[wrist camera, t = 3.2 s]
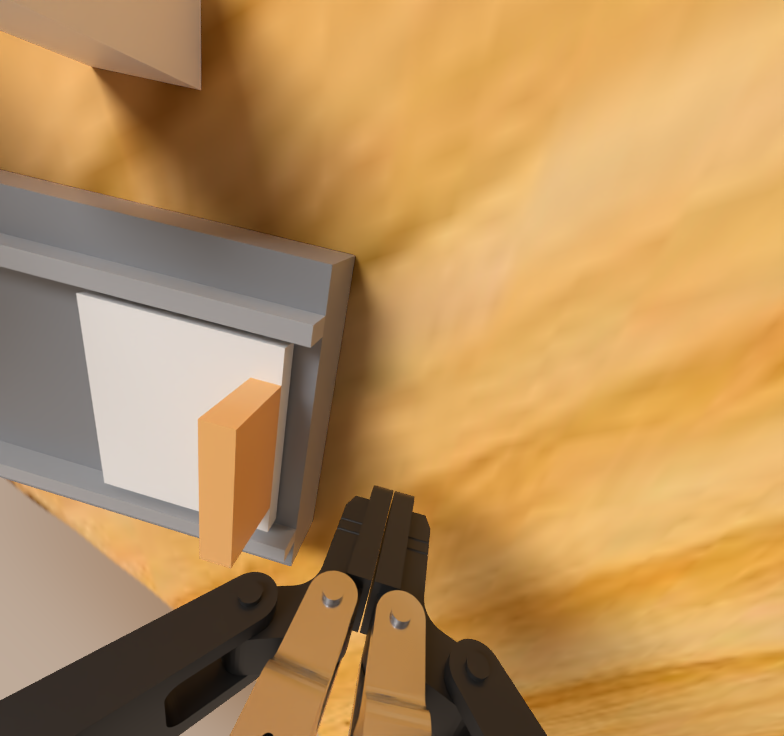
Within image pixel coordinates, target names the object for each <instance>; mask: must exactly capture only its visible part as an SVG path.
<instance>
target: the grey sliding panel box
mask: <svg viewBox="0 0 784 736" xmlns="http://www.w3.org/2000/svg"><path fill="white" fill-rule="evenodd" d="M354 262H355V255H352V254H348V253H343V252H339V251H335V250H331V249H327V248H323V247H319V246H314V245H310V244H306V243H302V242H298V241H294V240H290V239H285V238H281V237H277V236H273V235H269V234H265V233H261V232H257V231H252V230H248V229H244V228H240V227H236V226H232V225H228V224H223V223H219V222H215V221H211V220H207V219H203V218H199V217H194V216H190V215H186V214H182V213H178V212H174V211H170V210H166V209H161V208H157V207H153V206H149V205H145V204H141V203H137V202H132V201H128V200H124V199H120V198H116V197H112V196H108V195H103V194H99V193H95V192H91V191H87V190H83V189H79V188H75V187H70V186H66V185H62V184H58V183H54V182H50V181H46V180H41V179H37V178H33V177H29V176H25V175H21V174H17V173H13V172H8V171H4V170H0V477H2V478H5V479H8V480H12V481H15V482H18V483H21V484H25V485H28V486H31V487H34V488H38V489H41V490H44V491H47V492H51V493H54V494H57V495H60V496H64V497H67V498H70V499H73V500H77V501H80V502H83V503H86V504H90V505H93V506H96V507H100V508H103V509H106V510H109V511H113V512H116V513H119V514H122V515H126V516H129V517H132V518H135V519H139V520H142V521H145V522H148V523H152V524H155V525H158V526H161V527H165V528H168V529H171V530H174V531H178V532H181V533H184V534H187V535H191V536H194V537H197V538H199V511H196V510H192V509H189V508H186V507H183V506H179V505H176V504H173V503H169V502H166V501H163V500H159V499H156V498H153V497H149V496H146V495H143V494H139V493H136V492H133V491H130V490H126V489H123V488H120V487H116V486H113V485H110V484H106V483H104V477H103V470H102V464H101V457H100V450H99V443H98V437H97V430H96V423H95V417H94V410H93V403H92V397H91V390H90V383H89V376H88V370H87V363H86V356H85V350H84V343H83V336H82V329H81V323H80V316H79V309H78V303H77V296H76V293H79V292H84V291H89V290H92V291H96V292H100V293H104V294H107V295H111V296H115V297H119V298H123V299H126V300H130V301H134V302H138V303H142V304H145V305H149V306H153V307H157V308H161V309H165V310H168V311H172V312H176V313H180V314H184V315H187V316H191V317H195V318H199V319H203V320H206V321H210V322H214V323H218V324H222V325H226V326H229V327H233V328H237V329H241V330H245V331H248V332H252V333H256V334H260V335H264V336H267V337H271V338H275V339H279V340H283V341H286V342H290V343H294V349H293V359H292V368H291V378H290V387H289V397H288V407H287V416H286V426H285V436H284V445H283V455H282V464H281V474H280V484H279V493H278V503H277V512H276V519H275V521H274V523H273V524H272V526H271V528H270V529H269V531H268V532H265V531H262V530H259V529H256V530H255V532H254V533H253V535H252V536H251V538H250V539H249V541H248V543H247V544H246V546H245V547H244V549H243V550H242V551H243V552H246V553H249V554H252V555H256V556H259V557H262V558H265V559H269V560H272V561H275V562H279V563H282V564H285V565H288V566H292V563H293V561H294V559H295V557H296V555H297V553H298V551H299V549H300V547H301V545H302V542H303V540H304V538H305V536H306V534H307V532H308V530H309V528H310V526H311V524H312V522H313V516H314V510H315V504H316V498H317V492H318V485H319V479H320V473H321V467H322V460H323V454H324V448H325V442H326V436H327V429H328V423H329V417H330V411H331V405H332V398H333V392H334V386H335V380H336V373H337V367H338V361H339V355H340V349H341V342H342V336H343V330H344V324H345V318H346V311H347V305H348V299H349V293H350V286H351V280H352V274H353V268H354Z"/></svg>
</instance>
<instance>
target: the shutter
mask: <svg viewBox="0 0 784 736" xmlns="http://www.w3.org/2000/svg"><path fill="white" fill-rule="evenodd" d="M76 296H77V303H78V309H79V316H80V323H81V329H82V336H83V343H84V350H85V356H86V363H87V370H88V376H89V383H90V390H91V397H92V403H93V410H94V417H95V423H96V430H97V437H98V443H99V450H100V457H101V464H102V470H103V477H104V483H106V484H110V485H113V486H116V487H120V488H123V489H126V490H130V491H133V492H136V493H139V494H143V495H146V496H149V497H153V498H156V499H159V500H163V501H166V502H169V503H173V504H176V505H179V506H183V507H186V508H189V509H192V510H196V511H199V555H200V559H202V560H206V561H209V562H212V563H215V564H218V565H222V566H225V567H228V568H231V567H232V566H233V564H234V563H235V561H236V560H237V558H238V557H239V555H240V553H241V552H242V550H243V549H244V547H245V546H246V544H247V543H248V541H249V539H250V538H251V536H252V535H253V533H254V532H255V530H256V529H259V530H262V531H265V532H268V531H269V529H270V528H271V526H272V524H273V523H274V521H275V519H276V512H277V503H278V493H279V484H280V474H281V464H282V455H283V445H284V436H285V426H286V416H287V407H288V397H289V387H290V378H291V368H292V359H293V349H294V343H290V342H286V341H283V340H279V339H275V338H271V337H267V336H264V335H260V334H256V333H252V332H248V331H245V330H241V329H237V328H233V327H229V326H226V325H222V324H218V323H214V322H210V321H206V320H203V319H199V318H195V317H191V316H187V315H184V314H180V313H176V312H172V311H168V310H165V309H161V308H157V307H153V306H149V305H145V304H142V303H138V302H134V301H130V300H126V299H123V298H119V297H115V296H111V295H107V294H104V293H100V292H96V291H92V290H89V291H84V292H79V293H76Z"/></svg>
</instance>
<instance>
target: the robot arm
mask: <svg viewBox="0 0 784 736" xmlns="http://www.w3.org/2000/svg"><path fill="white" fill-rule="evenodd" d="M392 495H393V490H389V489H386V488H382V487H379V486H375V485H374V487H373V490H372V494H371V497H370V500H369V499H365V498H362V497H358V496H355V497H354V498H353V499H352V500H351V501H350V502H349V503H348V504H346V507H345V509H344V512H343V514H342V517H341V520H340V522H339V525H338V528H337V530H336V533H335V535H334V538H333V540H332V543H331V545H330V548H329V551H328V553H327V556H326V558H325V561H324V564H323V566H322V568H321V570H320V572H319V573H318V574H317V575H316V576H315V577H314V578H313V579H312V580H310V581H308V582H306V583H304V584H301V585H295V586H276V583H275V582H274V580H273V579H272V578H271V577H270V576H268V575H266V574H264V573H260V572H250V573H246V574H243V575H241V576H239V577H237V578H235V579H233V580H231V581H229V582H227V583H225V584H223V585H221V586H219V587H217V588H216V589H214V590H212V591H210V592H208V593H206V594H204V595H202V596H200V597H198V598H196V599H194V600H192V601H191V602H189V603H187V604H185V605H183V606H181V607H179V608H177V609H175V610H173V611H171V612H170V613H168V614H166V615H164V616H162V617H160V618H158V619H156V620H154V621H152V622H150V623H148V624H146V625H144V626H142V627H141V628H139V629H137V630H135V631H133V632H131V633H129V634H127V635H126V636H123V637H121V638H119V639H118V640H116V641H114V642H112V643H110V644H108V645H106V646H104V647H102V648H100V649H98V650H96V651H94V652H92V653H91V654H89V655H87V656H85V657H83V658H81V659H79V660H77V661H75V662H73V663H72V664H69V665H68V666H66V667H64V668H62V669H60V670H58V671H56V672H54V673H52V674H50V675H48V676H46V677H44V678H42V679H41V680H39V681H37V682H35V683H33V684H31V685H29V686H27V687H25V688H23V689H21V690H20V691H18V692H16V693H14V694H12V695H10V696H8V697H6V698H4V699H2V700H0V736H179V735H180V734H182V733H183V732H184V731H186V730H187V729H188V728H190V727H191V726H193V725H194V724H195V723H197V722H198V721H199V720H201V719H202V718H203V717H205V716H206V715H208V714H209V713H210V712H212V711H213V710H214V709H216V708H217V707H219V706H220V705H221V704H223V703H224V702H225V701H227V700H228V699H230V698H231V697H232V696H234V695H235V694H236V693H238V692H239V691H241V690H242V689H243V688H245V687H246V686H247V685H249V684H250V683H252V682H253V681H254V680H256V679H257V678H258V677H259V678H258V680H257V682H256V684H255V686H254V688H253V690H252V692H251V694H250V696H249V698H248V700H247V702H246V704H245V706H244V708H243V710H242V712H241V714H240V716H239V718H238V720H237V722H236V724H235V726H234V728H233V730H232V732H231V734H230V736H316V735H317V732H318V729H319V726H320V723H321V720H322V717H323V714H324V711H325V708H326V705H327V702H328V699H329V696H330V693H331V690H332V687H333V684H334V681H335V678H336V675H337V672H338V669H339V666H340V663H341V660H342V658H343V657H344V655H345V653H346V650H347V647H348V643H349V639H350V635H351V632H352V630H353V631H356V632H358V630H359V626H360V622H361V619H362V615H363V612H364V608H365V604H366V601H367V597H368V594H369V597H368V601H367V605H366V609H365V614H364V618H363V622H362V626H361V631H360V633H363V634H366V635H367V636H366V641H365V645H364V650H363V654H362V657H361V661H360V664H359V670H358V677H357V683H356V690H355V696H354V703H353V709H352V716H351V723H350V729H349V736H547V735H546V733H545V732H544V730H543V729H542V727H541V725H540V724H539V722H538V721H537V719H536V718H535V716H534V715H533V713H532V712H531V710H530V709H529V707H528V705H527V704H526V702H525V701H524V699H523V698H522V696H521V695H520V693H519V692H518V690H517V688H516V687H515V685H514V684H513V682H512V681H511V679H510V678H509V676H508V675H507V673H506V672H505V670H504V668H503V667H502V665H501V664H500V662H499V661H498V659H497V658H496V656H495V655H494V653H493V652H492V651H491V650H490V649H489V648H488V647H487V646H485V645H484V644H482V643H481V642H479V641H476V640H473V639H463V640H461V641H459V642H456V641H454V640H453V639H452V638H450V637H449V636H447V635H446V634H444V633H443V632H442V631H440V630H439V629H438V628H437V627H436V626H435V625H434V624H433V622H432V621H431V620H430V618H429V616H428V614H427V612H426V609H425V605H424V592H425V581H426V570H427V559H428V556H427V555H428V548H429V545H428V544H429V537H430V527H429V524H428V522H427V519H426V516H424V515H421V514H418V513H414V512H412V510H413V504H414V496H411V495H407V494H404V493H400V492H397V491H395V493H394V496H393V500H392V504H391V507H390V503H391V499H392ZM389 507H390V511H389ZM388 511H389V514H388ZM387 516H388V518H387ZM386 520H387V522H386ZM385 524H386V526H385ZM384 528H385V529H384ZM381 541H382V542H381ZM380 545H381V546H380ZM376 562H377V563H376ZM375 566H376V567H375ZM372 579H373V580H372ZM371 583H372V584H371ZM370 587H371V588H370ZM369 590H370V592H369Z"/></svg>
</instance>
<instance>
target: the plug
mask: <svg viewBox="0 0 784 736" xmlns="http://www.w3.org/2000/svg"><path fill="white" fill-rule="evenodd" d="M0 31H3V32H5V33H8V34H10V35H13V36H15V37H18V38H20V39H23V40H25V41H28V42H30V43H33V44H36V45H38V46H41V47H43V48H46V49H48V50H51V51H53V52H56V53H58V54H61V55H63V56H66V57H68V58H71V59H73V60H76V61H78V62H81V63H83V64H86V65H88V66H91V67H95V68H100V69H105V70H109V71H114V72H119V73H123V74H128V75H132V76H137V77H142V78H146V79H151V80H156V81H160V82H165V83H170V84H174V85H179V86H183V87H188V88H193V89H197V90H201V0H0Z"/></svg>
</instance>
